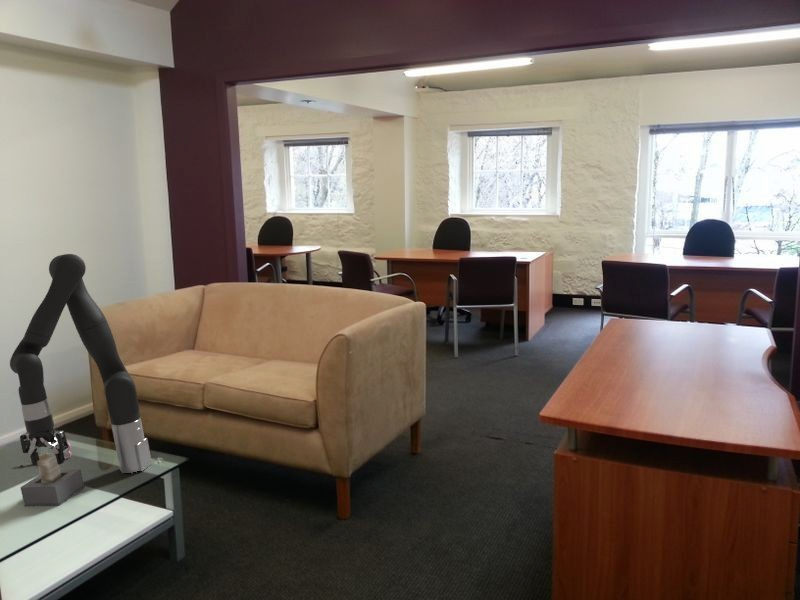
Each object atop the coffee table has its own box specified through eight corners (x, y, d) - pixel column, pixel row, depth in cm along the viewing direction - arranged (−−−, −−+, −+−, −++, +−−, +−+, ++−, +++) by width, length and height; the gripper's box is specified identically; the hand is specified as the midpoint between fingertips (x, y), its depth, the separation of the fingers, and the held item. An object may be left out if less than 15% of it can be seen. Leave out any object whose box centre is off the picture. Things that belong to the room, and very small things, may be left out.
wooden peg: (64, 491, 202) (57, 455, 200) (56, 497, 199) (48, 461, 197) (53, 491, 203) (46, 456, 201) (44, 497, 199) (36, 461, 197)
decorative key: (18, 474, 231) (75, 455, 234) (17, 475, 230) (74, 457, 233) (11, 457, 229) (68, 439, 232) (10, 458, 228) (67, 440, 231)
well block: (84, 487, 206) (80, 468, 205) (59, 505, 194) (55, 486, 193) (51, 487, 208) (47, 469, 207) (24, 506, 196) (20, 487, 195)
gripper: (66, 409, 199) (77, 457, 202) (26, 411, 201) (37, 459, 204) (49, 418, 191) (61, 468, 194) (8, 421, 194) (20, 470, 197)
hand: (48, 464), depth 199 cm, fingers open, 8 cm apart
